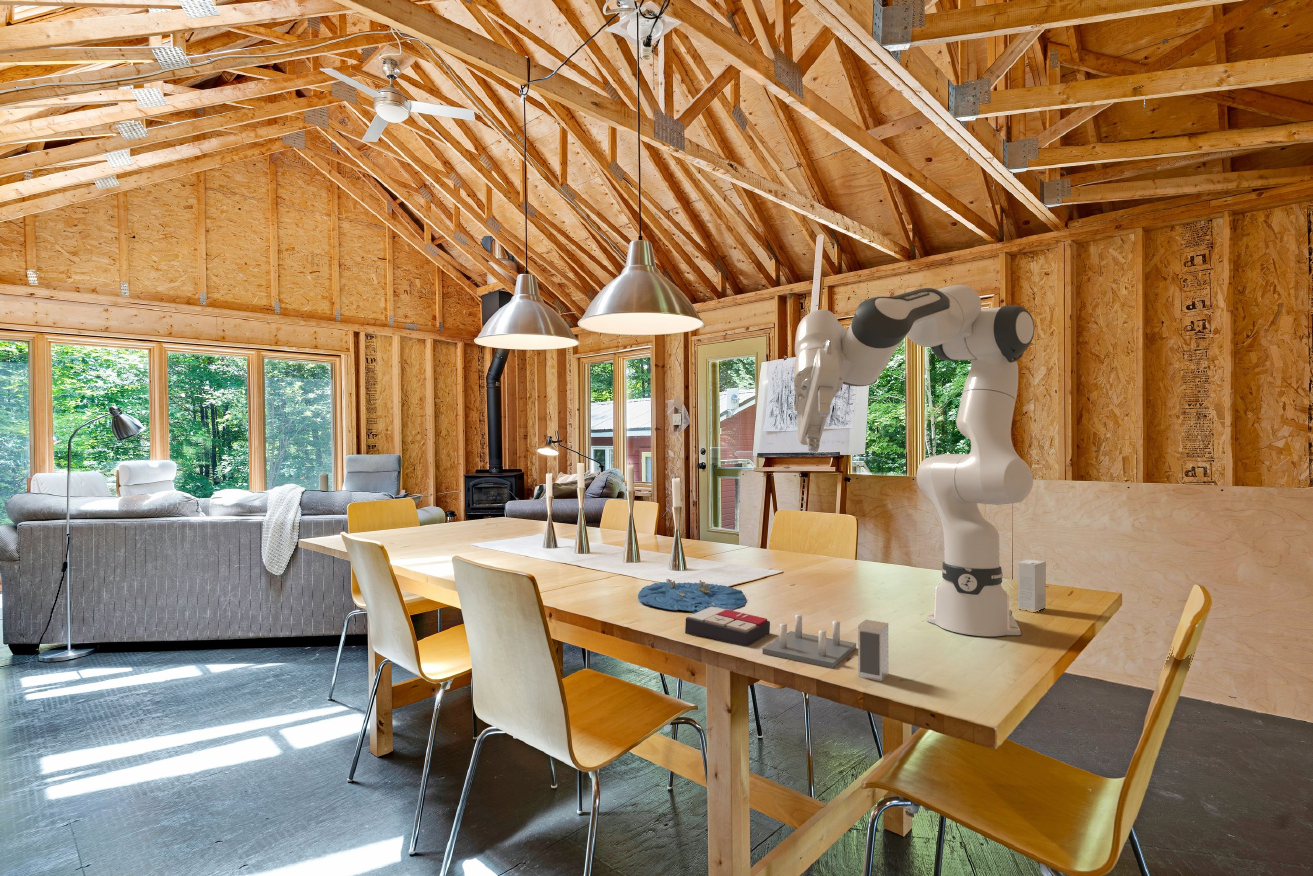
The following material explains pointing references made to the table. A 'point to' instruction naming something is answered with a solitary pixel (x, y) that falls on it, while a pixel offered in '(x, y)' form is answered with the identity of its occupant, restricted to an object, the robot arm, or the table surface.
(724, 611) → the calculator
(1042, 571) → the skincare box
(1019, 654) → the table surface
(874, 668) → the block
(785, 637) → the pin tray
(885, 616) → the table surface
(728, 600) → the blue sea diorama
